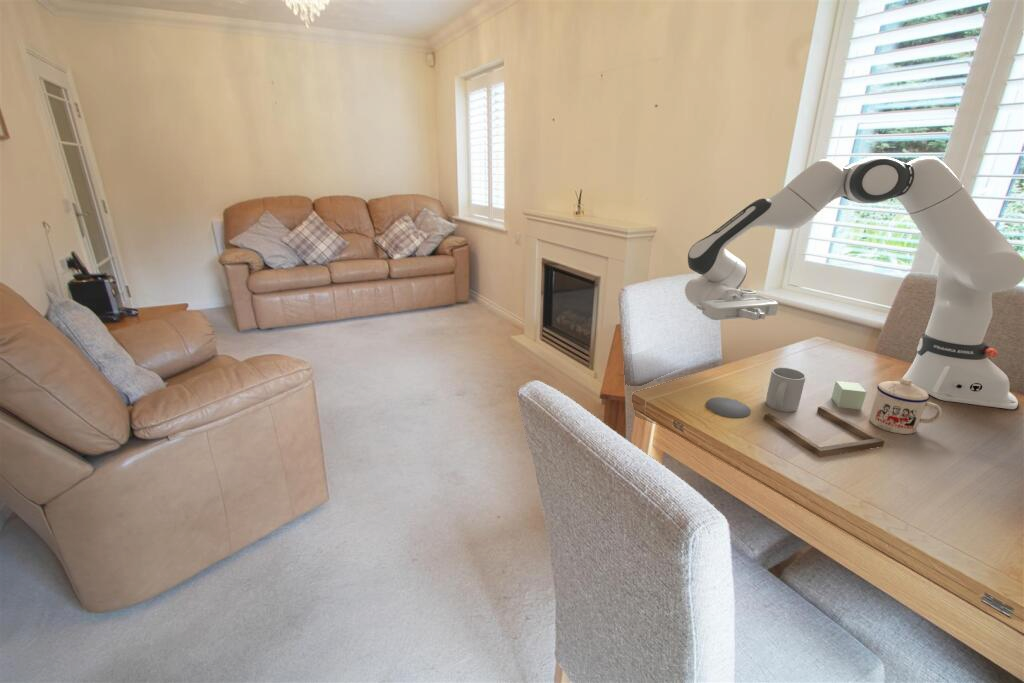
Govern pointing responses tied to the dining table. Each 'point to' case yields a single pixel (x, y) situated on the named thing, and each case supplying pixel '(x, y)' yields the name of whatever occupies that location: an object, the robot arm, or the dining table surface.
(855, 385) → the sage box
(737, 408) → the slate coaster
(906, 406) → the teacup with lid
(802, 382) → the cup
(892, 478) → the dining table surface
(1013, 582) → the dining table surface
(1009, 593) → the dining table surface
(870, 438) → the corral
